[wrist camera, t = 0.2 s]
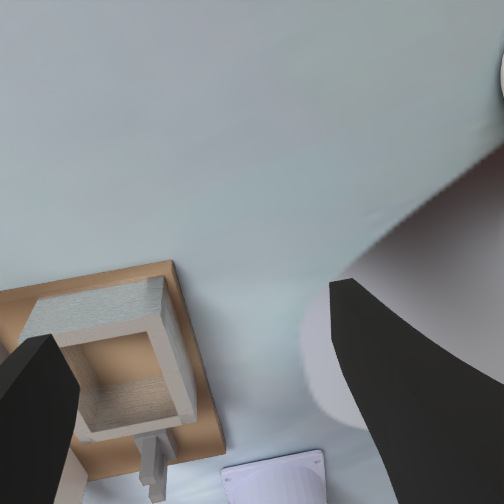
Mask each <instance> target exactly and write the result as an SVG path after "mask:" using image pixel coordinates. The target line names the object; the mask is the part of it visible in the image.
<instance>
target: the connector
mask: <svg viewBox="0 0 504 504" xmlns="http://www.w3.org/2000/svg"><path fill="white" fill-rule="evenodd" d="M87 478H88V474H87V472H86V471H85V469H84V468H83V466H82V465H81V463H80V462H79V460H78V459H77V457H76V456H75V454H74V453H73V451H72V450H71V448H70V447H69V450H68V454H67V458H66V461H65V465H64V468H63V472H62V476H61V479H60V483H59V486H58V490H57V493H56V497H55V500H54V504H82V501H83V496H84V492H85V487H86V483H87Z"/></svg>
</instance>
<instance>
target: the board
mask: <svg viewBox="0 0 504 504" xmlns="http://www.w3.org/2000/svg"><path fill="white" fill-rule="evenodd" d="M160 275H164V277H165V280H166V283H167V286H168V289H169V293H170V296H171V299H172V302H173V305H174V308H175V312H176V315H177V318H178V321H179V324H180V328H181V331H182V334H183V337H184V340H185V343H186V347H187V350H188V353H189V356H190V359H191V363H192V366H193V369H194V372H195V375H196V388H197V422H195V423H190V424H185V425H180V426H175V427H170V429H171V431H172V434H173V436H174V439H175V441H176V444H177V460H175V461H170V462H167V466H168V465H173V464H178V463H183V462H188V461H193V460H198V459H203V458H208V457H213V456H218V455H223V454H226V445H225V439H224V435H223V432H222V428H221V425H220V422H219V418H218V415H217V411H216V408H215V405H214V401H213V398H212V394H211V391H210V388H209V384H208V381H207V377H206V374H205V371H204V367H203V364H202V360H201V357H200V354H199V350H198V347H197V343H196V340H195V336H194V333H193V330H192V326H191V323H190V319H189V316H188V313H187V309H186V306H185V302H184V299H183V296H182V292H181V289H180V285H179V282H178V279H177V275H176V272H175V268H174V265H173V262H172V260H168V261H163V262H157V263H152V264H146V265H141V266H135V267H130V268H125V269H119V270H114V271H108V272H103V273H97V274H92V275H86V276H81V277H76V278H70V279H65V280H59V281H54V282H48V283H43V284H37V285H32V286H27V287H21V288H16V289H10V290H5V291H0V341H1V343H2V344H3V346H4V347H5V349H6V350H7V352H8V353H9V355H10V354H11V353H12V352H13V351H14V350H15V349H16V348H17V347H18V346H19V344H18V342H17V340H18V338H19V336H20V334H21V332H22V330H23V328H24V326H25V324H26V322H27V320H28V318H29V316H30V314H31V312H32V310H33V308H34V306H35V304H36V302H37V300H38V298H40V297H46V296H51V295H57V294H62V293H68V292H73V291H78V290H84V289H89V288H95V287H100V286H105V285H111V284H116V283H122V282H127V281H132V280H138V279H143V278H149V277H154V276H160ZM80 345H81V347H82V349H83V351H84V353H85V355H86V356H87V358H88V360H89V362H90V364H91V366H92V368H93V370H94V372H95V374H96V376H97V378H98V380H99V382H100V384H101V386H102V387H103V386H108V385H113V384H118V383H123V382H129V381H134V380H139V379H144V378H149V377H155V376H160V375H163V373H162V370H161V368H160V365H159V362H158V360H157V357H156V354H155V352H154V349H153V347H152V344H151V341H150V339H149V336H148V333H147V331H145V332H140V333H134V334H129V335H124V336H119V337H113V338H108V339H103V340H97V341H92V342H87V343H82V344H80ZM133 438H134V435H129V436H124V437H119V438H114V439H108V440H103V441H98V442H93V443H88V444H83V445H81V443H80V442H79V440H78V438H77V437H76V435H75V434H74V432H73V436H72V439H71V443H70V448H71V450H72V451H73V453H74V454H75V456H76V457H77V459H78V460H79V462H80V463H81V465H82V466H83V468H84V469H85V471H86V472H87V474H88V478H87V482H88V481H93V480H98V479H103V478H108V477H113V476H118V475H123V474H128V473H133V472H138V471H140V465H141V454H140V452H139V450H138V448H137V446H136V444H135V442H134V440H133Z"/></svg>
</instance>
